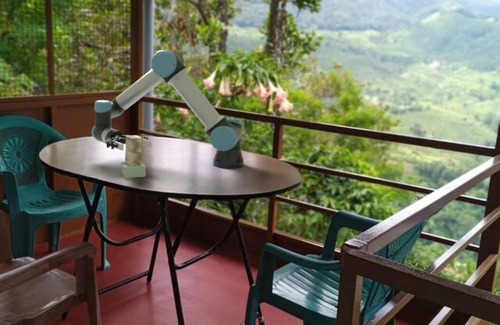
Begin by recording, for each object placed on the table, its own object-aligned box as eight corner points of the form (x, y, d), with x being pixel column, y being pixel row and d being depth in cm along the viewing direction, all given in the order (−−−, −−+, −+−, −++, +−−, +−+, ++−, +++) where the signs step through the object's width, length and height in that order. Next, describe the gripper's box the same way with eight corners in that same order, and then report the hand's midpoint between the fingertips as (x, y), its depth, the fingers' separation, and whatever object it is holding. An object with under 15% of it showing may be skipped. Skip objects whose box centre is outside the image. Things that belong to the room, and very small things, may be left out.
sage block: (141, 171, 232) (141, 161, 231) (145, 177, 224) (145, 166, 223) (121, 173, 229) (121, 162, 228) (124, 178, 221) (124, 167, 220)
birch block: (135, 161, 229) (136, 135, 226) (140, 164, 225) (142, 137, 222) (125, 162, 225) (126, 136, 223) (130, 165, 222) (131, 138, 219)
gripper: (137, 142, 245) (161, 151, 230) (87, 148, 229) (110, 157, 214) (137, 127, 243) (161, 134, 228) (87, 131, 227) (110, 139, 212)
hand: (137, 145), depth 221 cm, fingers open, 13 cm apart
